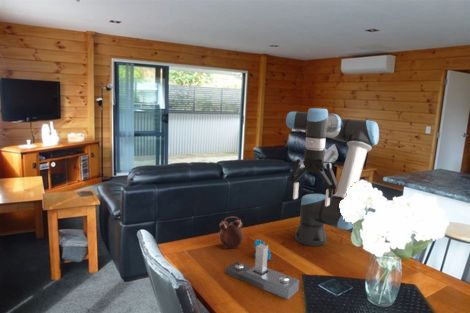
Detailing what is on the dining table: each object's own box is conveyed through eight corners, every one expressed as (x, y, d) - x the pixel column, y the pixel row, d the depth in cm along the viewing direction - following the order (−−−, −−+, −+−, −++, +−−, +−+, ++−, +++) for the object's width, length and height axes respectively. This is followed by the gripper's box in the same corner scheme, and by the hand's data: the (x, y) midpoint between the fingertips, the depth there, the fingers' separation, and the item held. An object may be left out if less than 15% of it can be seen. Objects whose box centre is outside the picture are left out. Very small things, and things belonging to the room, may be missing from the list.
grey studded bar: (237, 265, 143) (237, 254, 142) (298, 290, 126) (299, 277, 125) (224, 272, 136) (225, 261, 135) (287, 299, 120) (288, 286, 119)
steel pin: (259, 278, 133) (260, 243, 131) (266, 281, 131) (268, 246, 129) (254, 281, 131) (256, 246, 129) (261, 284, 129) (263, 248, 127)
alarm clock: (240, 244, 163) (241, 214, 161) (243, 249, 159) (244, 217, 156) (217, 246, 161) (218, 215, 158) (220, 250, 156) (221, 219, 154)
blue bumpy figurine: (266, 261, 144) (253, 240, 147) (256, 268, 146) (243, 248, 149) (276, 255, 154) (263, 235, 157) (266, 261, 156) (254, 242, 159)
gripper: (281, 145, 138) (278, 197, 141) (343, 153, 123) (337, 211, 126) (290, 144, 144) (287, 194, 147) (350, 151, 129) (345, 206, 132)
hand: (310, 202), depth 137 cm, fingers open, 13 cm apart
